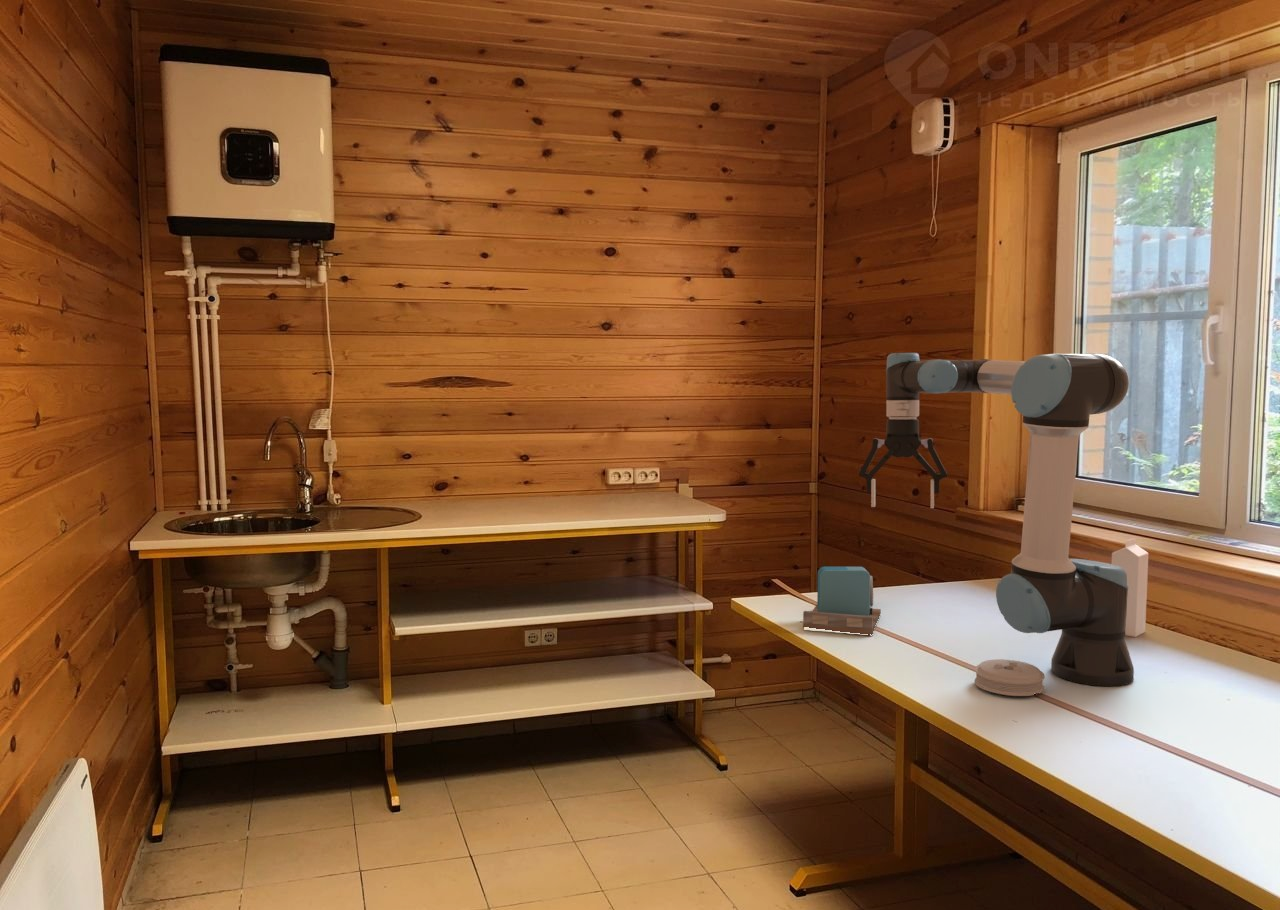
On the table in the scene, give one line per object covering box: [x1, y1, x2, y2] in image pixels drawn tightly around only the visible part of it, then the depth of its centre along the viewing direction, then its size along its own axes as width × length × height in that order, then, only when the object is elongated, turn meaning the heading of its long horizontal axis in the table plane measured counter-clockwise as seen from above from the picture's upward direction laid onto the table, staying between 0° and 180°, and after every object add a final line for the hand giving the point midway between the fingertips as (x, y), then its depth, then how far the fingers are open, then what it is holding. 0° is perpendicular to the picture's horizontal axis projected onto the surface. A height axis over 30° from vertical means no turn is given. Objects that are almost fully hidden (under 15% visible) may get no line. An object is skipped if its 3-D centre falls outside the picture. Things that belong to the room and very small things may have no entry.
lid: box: [974, 658, 1046, 697], centre depth 187 cm, size 13×13×5 cm
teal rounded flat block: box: [816, 566, 871, 616], centre depth 234 cm, size 12×4×12 cm, turn 87°
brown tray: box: [802, 604, 882, 636], centre depth 235 cm, size 20×16×4 cm
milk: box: [1111, 537, 1149, 638], centre depth 224 cm, size 6×6×22 cm
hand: (902, 507), depth 230 cm, fingers open, 13 cm apart
